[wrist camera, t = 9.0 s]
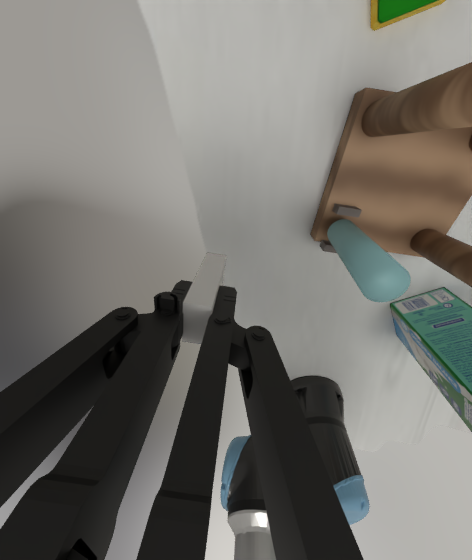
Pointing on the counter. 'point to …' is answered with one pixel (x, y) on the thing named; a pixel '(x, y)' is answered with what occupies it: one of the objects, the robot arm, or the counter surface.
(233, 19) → the counter surface
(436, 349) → the milk carton
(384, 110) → the walnut stool
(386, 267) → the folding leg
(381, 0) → the dish sponge
